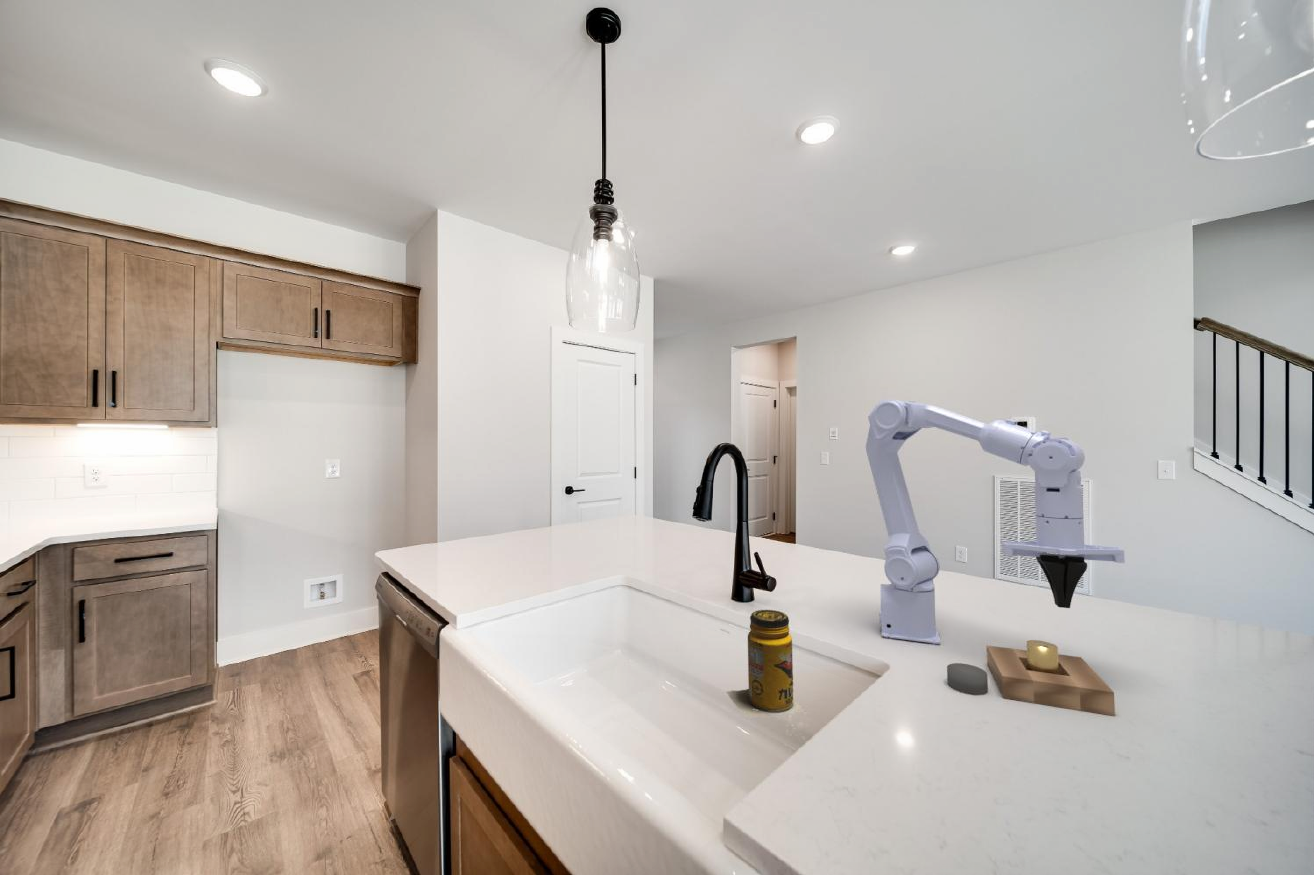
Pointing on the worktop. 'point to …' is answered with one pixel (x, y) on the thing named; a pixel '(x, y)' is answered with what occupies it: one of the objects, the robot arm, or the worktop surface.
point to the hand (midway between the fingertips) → (1062, 606)
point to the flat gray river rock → (967, 679)
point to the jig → (1050, 682)
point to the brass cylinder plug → (1042, 657)
